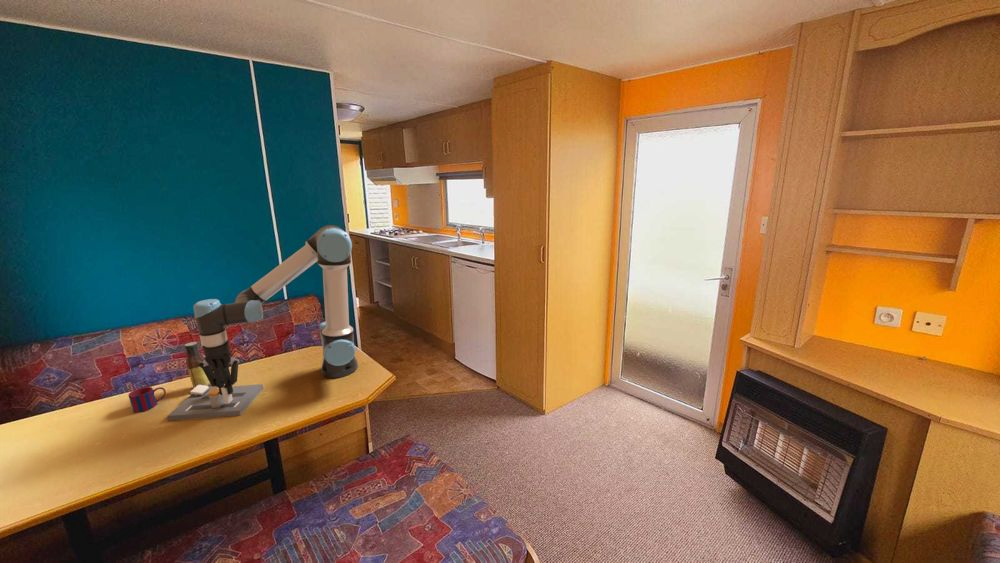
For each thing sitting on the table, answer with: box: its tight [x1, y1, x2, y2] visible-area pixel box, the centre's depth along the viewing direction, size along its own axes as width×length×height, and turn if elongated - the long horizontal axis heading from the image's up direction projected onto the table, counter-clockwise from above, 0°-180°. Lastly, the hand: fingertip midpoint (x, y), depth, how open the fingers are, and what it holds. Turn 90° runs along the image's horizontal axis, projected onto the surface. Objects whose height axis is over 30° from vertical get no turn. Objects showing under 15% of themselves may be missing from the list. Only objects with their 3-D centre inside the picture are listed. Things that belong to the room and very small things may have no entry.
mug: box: [128, 386, 167, 414], centre depth 145 cm, size 7×10×7 cm
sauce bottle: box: [184, 341, 210, 389], centre depth 155 cm, size 7×6×20 cm
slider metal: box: [208, 389, 224, 408], centre depth 141 cm, size 3×3×6 cm
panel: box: [166, 384, 264, 422], centre depth 146 cm, size 24×18×2 cm
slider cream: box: [208, 383, 219, 392], centre depth 147 cm, size 3×3×6 cm
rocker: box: [189, 385, 209, 396], centre depth 150 cm, size 4×5×2 cm
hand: (228, 401), depth 142 cm, fingers closed
